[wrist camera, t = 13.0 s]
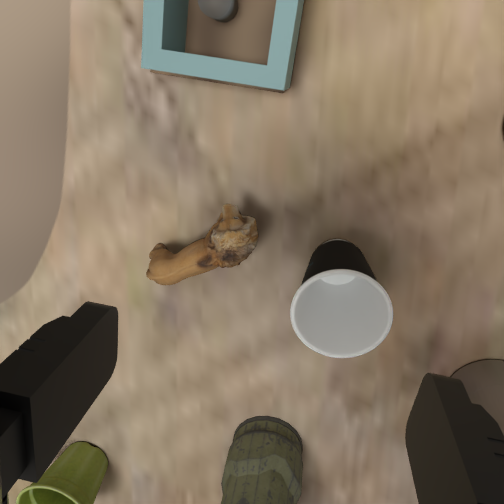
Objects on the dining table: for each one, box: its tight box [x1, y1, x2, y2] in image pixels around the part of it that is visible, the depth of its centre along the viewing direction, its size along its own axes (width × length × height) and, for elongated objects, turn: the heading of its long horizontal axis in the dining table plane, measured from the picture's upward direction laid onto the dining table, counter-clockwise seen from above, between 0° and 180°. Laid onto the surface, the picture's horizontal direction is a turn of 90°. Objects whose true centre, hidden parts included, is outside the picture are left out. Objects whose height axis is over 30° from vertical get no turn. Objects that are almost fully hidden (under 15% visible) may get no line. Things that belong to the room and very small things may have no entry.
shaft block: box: [150, 0, 284, 93], centre depth 35 cm, size 12×12×4 cm
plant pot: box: [16, 442, 108, 504], centre depth 57 cm, size 9×9×9 cm
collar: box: [141, 0, 304, 90], centre depth 33 cm, size 11×11×6 cm
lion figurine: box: [146, 204, 258, 285], centre depth 41 cm, size 15×5×9 cm, turn 126°
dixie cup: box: [290, 239, 393, 358], centre depth 39 cm, size 8×8×11 cm
